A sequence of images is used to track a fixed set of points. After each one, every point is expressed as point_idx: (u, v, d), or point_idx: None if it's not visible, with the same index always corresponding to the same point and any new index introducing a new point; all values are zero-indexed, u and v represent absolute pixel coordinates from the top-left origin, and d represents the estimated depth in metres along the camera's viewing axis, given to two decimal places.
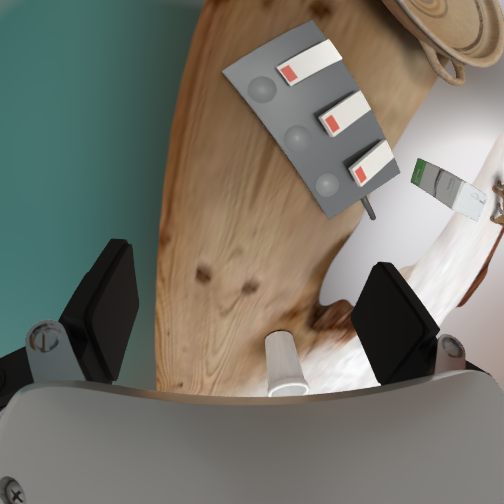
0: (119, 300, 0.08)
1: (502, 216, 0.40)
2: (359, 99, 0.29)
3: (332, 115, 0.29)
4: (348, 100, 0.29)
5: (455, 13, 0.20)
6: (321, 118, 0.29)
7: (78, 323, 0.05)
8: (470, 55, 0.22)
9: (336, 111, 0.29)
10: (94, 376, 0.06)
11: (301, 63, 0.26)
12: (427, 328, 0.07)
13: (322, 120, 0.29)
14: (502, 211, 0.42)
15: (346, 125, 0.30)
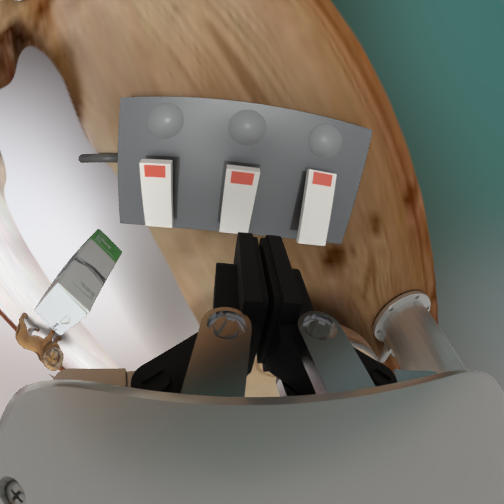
0: None
1: (26, 332, 0.36)
2: (239, 226, 0.28)
3: (250, 185, 0.24)
4: (249, 214, 0.27)
5: (253, 377, 0.46)
6: (257, 170, 0.24)
7: (258, 306, 0.07)
8: None
9: (249, 192, 0.25)
10: None
11: (322, 199, 0.26)
12: (283, 300, 0.07)
13: (254, 170, 0.24)
14: (30, 332, 0.39)
15: (225, 192, 0.25)
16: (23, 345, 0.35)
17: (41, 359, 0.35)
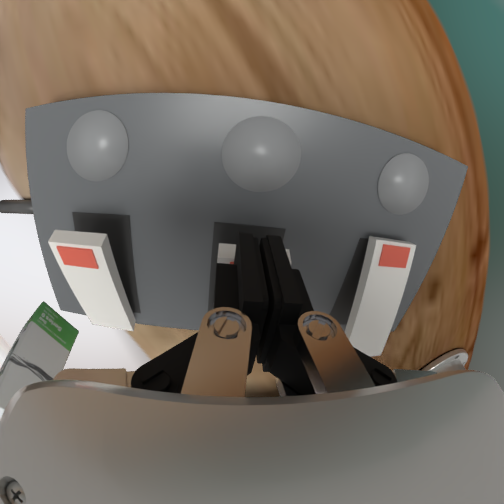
0: None
1: None
2: None
3: None
4: None
5: None
6: None
7: (258, 306, 0.07)
8: None
9: None
10: None
11: (389, 290, 0.14)
12: (283, 300, 0.07)
13: None
14: None
15: None
16: None
17: None
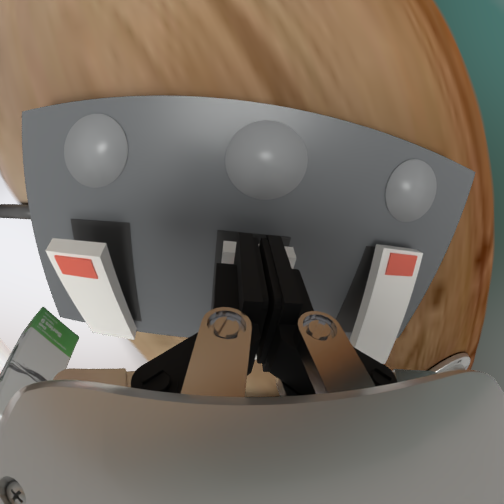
0: None
1: None
2: None
3: None
4: None
5: None
6: (290, 254, 0.11)
7: (258, 306, 0.07)
8: None
9: None
10: None
11: (395, 298, 0.14)
12: (283, 300, 0.07)
13: None
14: None
15: None
16: None
17: None
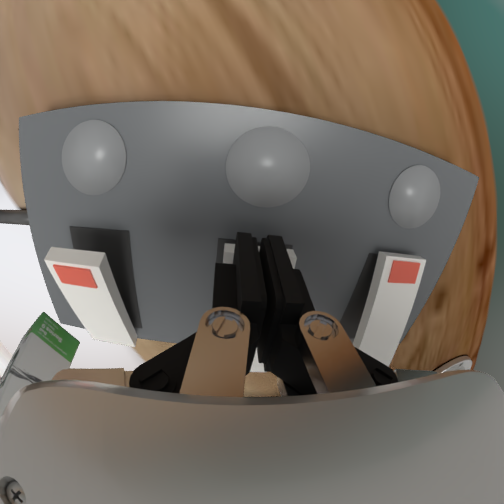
0: None
1: None
2: None
3: None
4: None
5: None
6: (290, 255, 0.11)
7: (256, 306, 0.07)
8: None
9: None
10: None
11: (398, 306, 0.13)
12: (285, 299, 0.07)
13: None
14: None
15: None
16: None
17: None
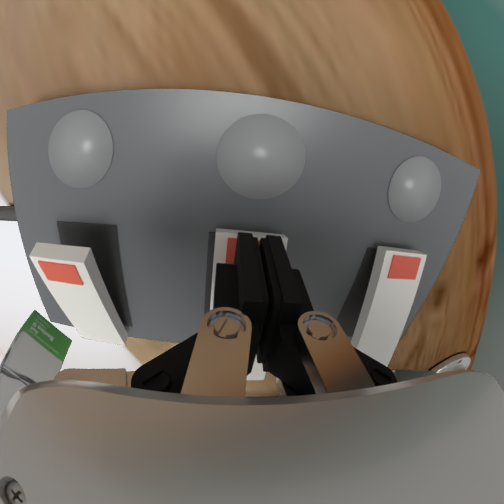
0: None
1: None
2: None
3: None
4: None
5: None
6: (281, 236, 0.12)
7: (258, 306, 0.07)
8: None
9: None
10: None
11: (398, 303, 0.13)
12: (283, 300, 0.07)
13: (275, 235, 0.12)
14: None
15: None
16: None
17: None
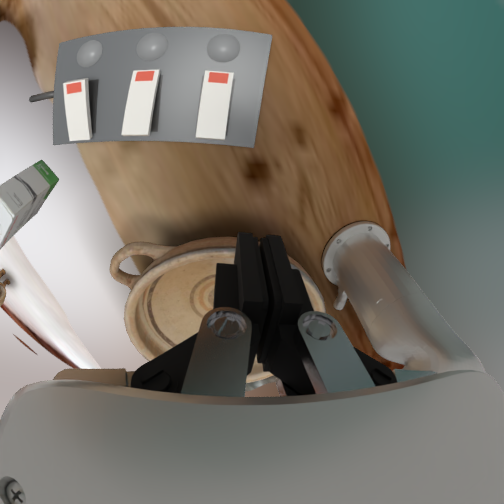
0: None
1: None
2: (140, 125, 0.24)
3: (151, 81, 0.23)
4: (149, 110, 0.24)
5: (190, 320, 0.44)
6: (157, 70, 0.23)
7: (258, 306, 0.07)
8: (140, 306, 0.37)
9: (150, 88, 0.23)
10: None
11: (218, 95, 0.24)
12: (283, 300, 0.07)
13: None
14: None
15: (130, 90, 0.23)
16: None
17: None
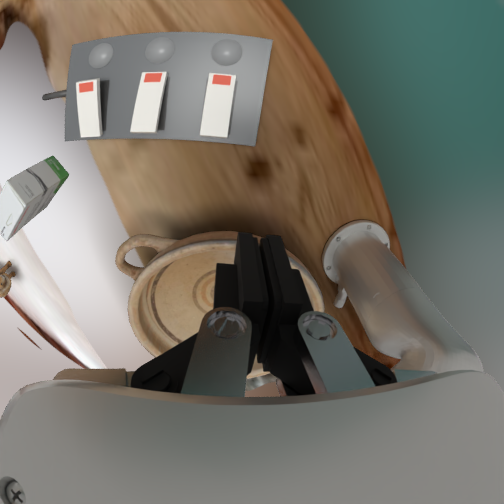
0: None
1: None
2: (148, 123, 0.26)
3: (158, 82, 0.25)
4: (156, 109, 0.26)
5: (192, 315, 0.45)
6: None
7: (258, 306, 0.07)
8: (144, 298, 0.38)
9: (158, 88, 0.25)
10: None
11: (221, 96, 0.26)
12: (283, 300, 0.07)
13: None
14: None
15: (139, 91, 0.25)
16: None
17: None
